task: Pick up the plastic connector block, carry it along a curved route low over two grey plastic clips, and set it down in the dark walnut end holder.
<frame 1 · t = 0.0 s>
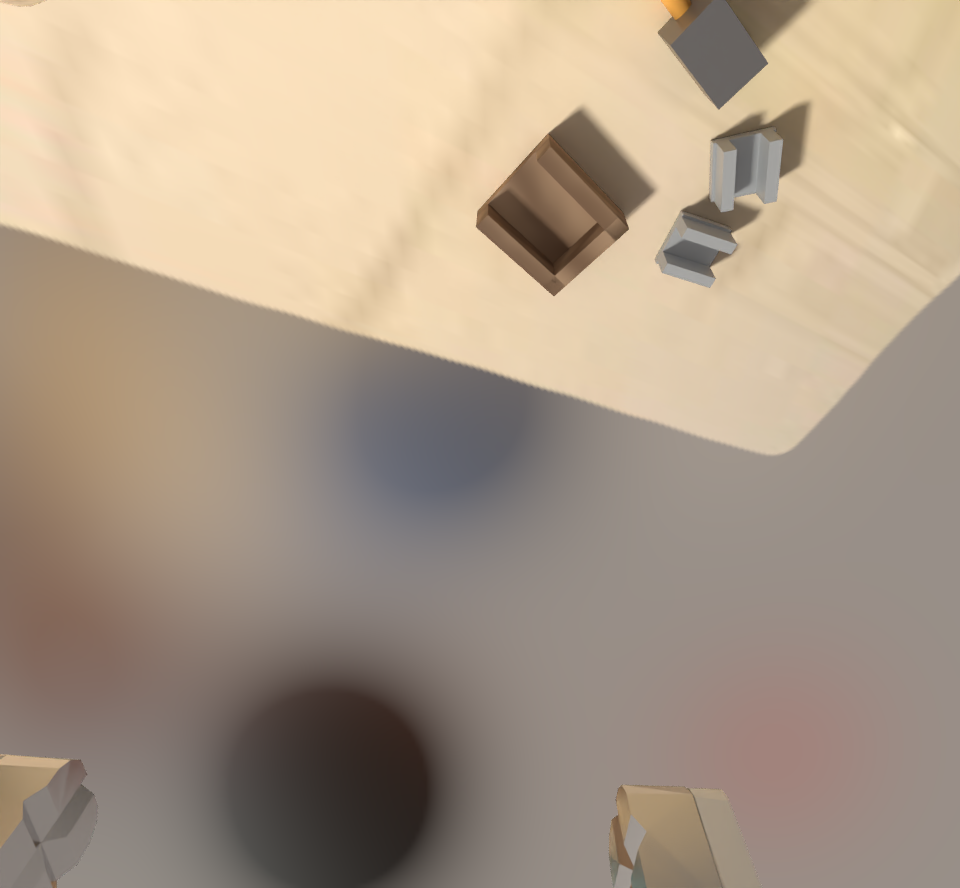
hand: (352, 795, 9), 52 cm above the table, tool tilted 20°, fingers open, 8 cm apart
connector: (702, 40, 46), on the table
holder: (550, 212, 55), on the table
clip1: (739, 164, 51), on the table
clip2: (691, 243, 57), on the table
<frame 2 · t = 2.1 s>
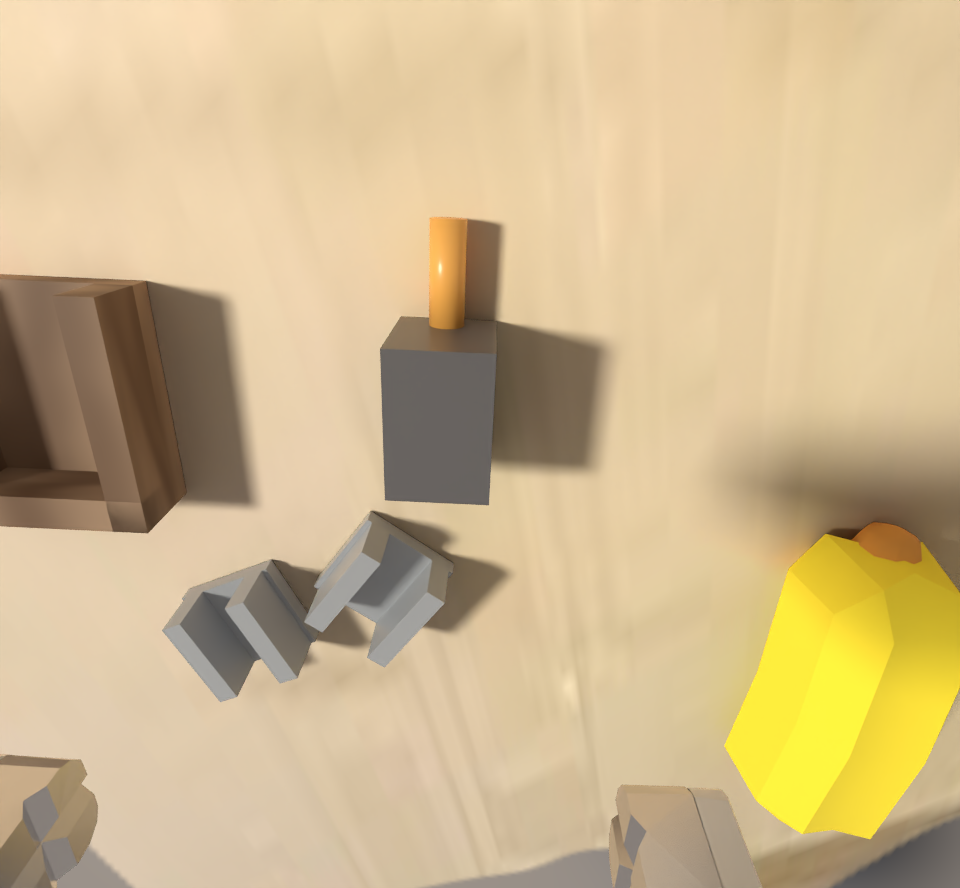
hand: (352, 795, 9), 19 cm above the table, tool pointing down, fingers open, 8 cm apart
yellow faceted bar: (811, 645, 32), on the table
connector: (447, 386, 26), on the table
holder: (67, 390, 27), on the table
clip1: (385, 570, 30), on the table
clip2: (255, 610, 32), on the table
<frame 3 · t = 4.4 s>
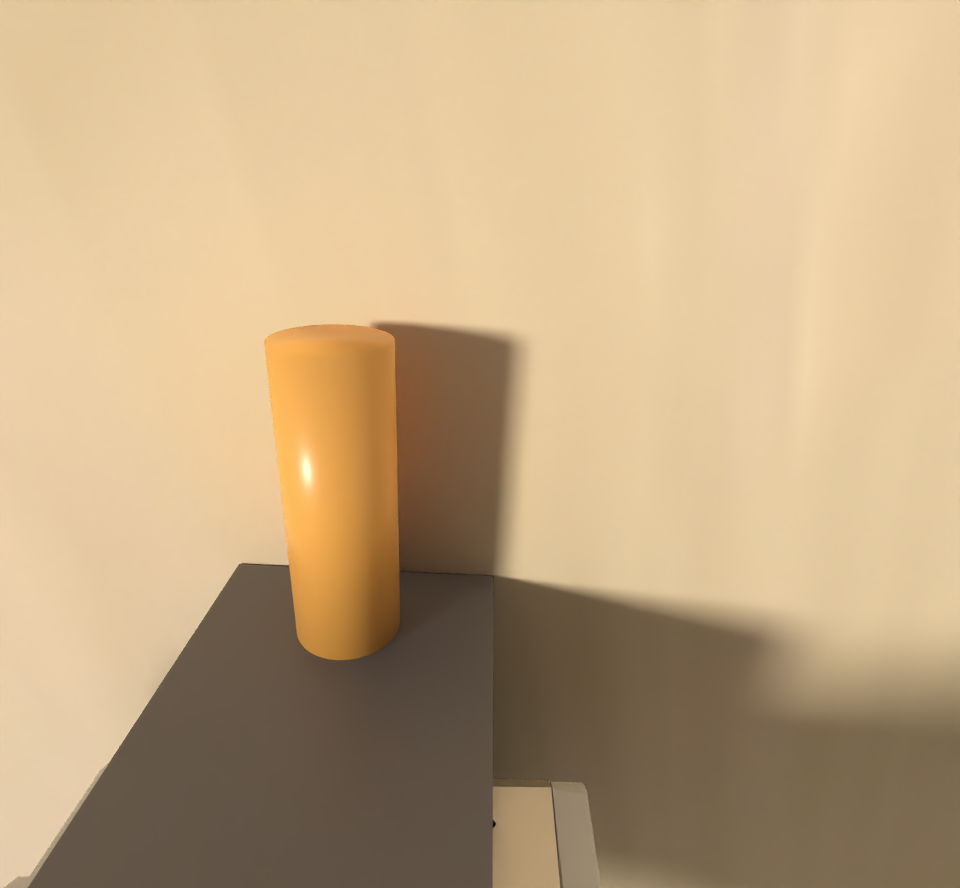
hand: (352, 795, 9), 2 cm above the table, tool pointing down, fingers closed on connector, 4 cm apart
connector: (372, 708, 11), on the table, touching gripper
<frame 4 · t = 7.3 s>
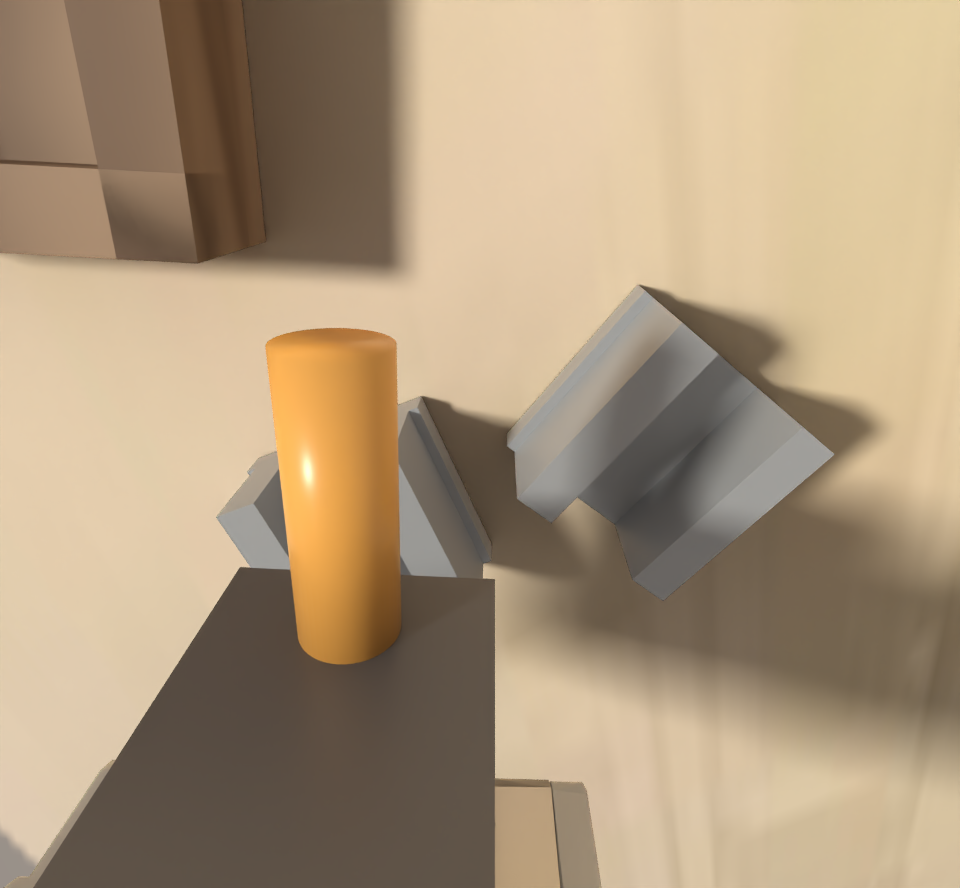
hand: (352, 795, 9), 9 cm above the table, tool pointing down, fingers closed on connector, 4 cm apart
connector: (373, 711, 11), point 7 cm above the table, touching gripper
clip1: (639, 419, 16), on the table
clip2: (378, 502, 17), on the table
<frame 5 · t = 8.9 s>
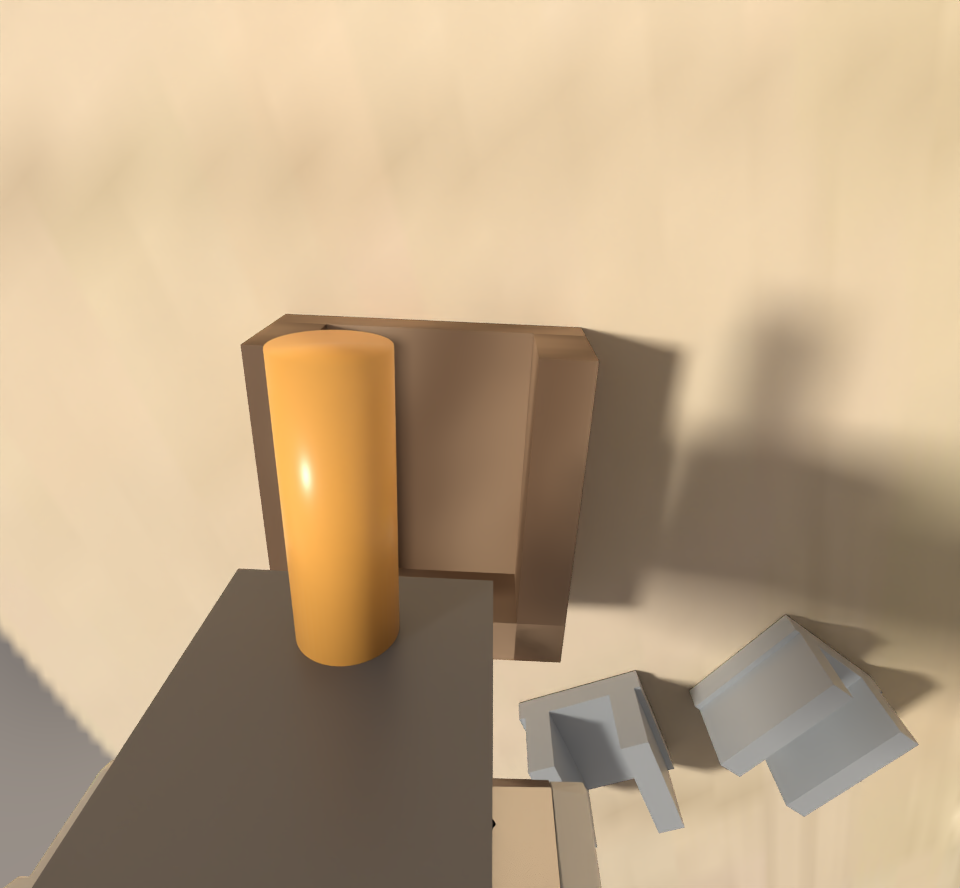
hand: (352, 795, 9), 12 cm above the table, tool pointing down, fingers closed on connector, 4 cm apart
connector: (372, 712, 11), point 10 cm above the table, touching gripper
holder: (431, 467, 20), on the table
clip1: (778, 683, 24), on the table
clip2: (595, 728, 25), on the table
when the fingers open (5 cm above the table, at t = 10.4 s): connector drops 2 cm, resting on holder.
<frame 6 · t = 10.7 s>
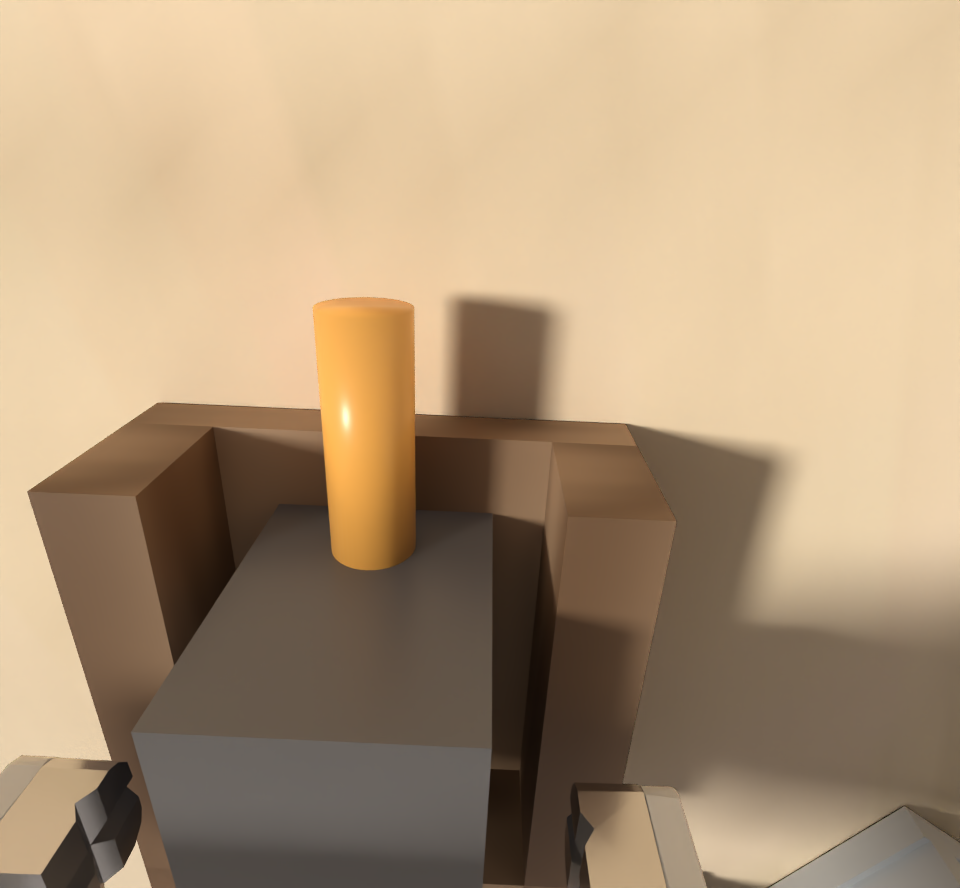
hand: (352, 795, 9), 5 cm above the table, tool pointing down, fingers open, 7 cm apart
connector: (389, 633, 12), point 1 cm above the table, touching holder
holder: (396, 618, 13), on the table
clip1: (885, 886, 17), on the table
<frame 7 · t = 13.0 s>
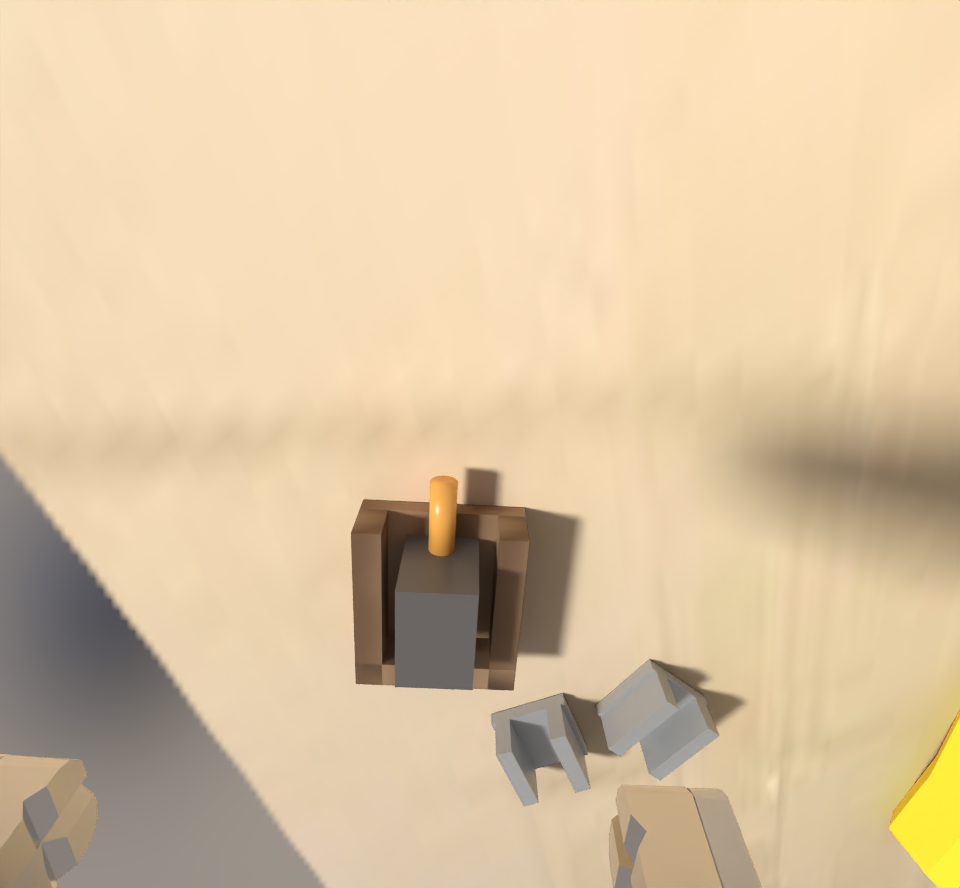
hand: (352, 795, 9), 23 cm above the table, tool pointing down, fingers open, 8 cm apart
connector: (441, 581, 34), point 1 cm above the table, touching holder
holder: (441, 577, 35), on the table
clip1: (649, 700, 39), on the table
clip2: (539, 729, 40), on the table
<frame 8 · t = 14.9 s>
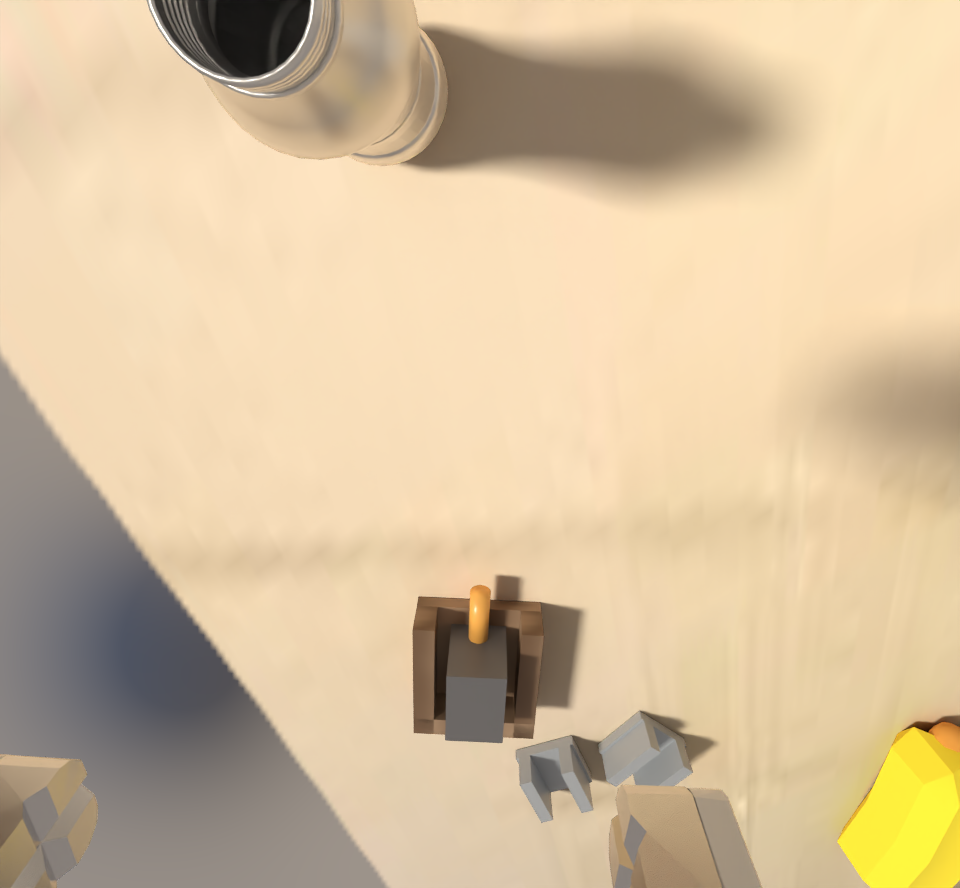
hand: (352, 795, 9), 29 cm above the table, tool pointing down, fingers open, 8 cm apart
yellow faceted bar: (894, 781, 52), on the table
connector: (477, 656, 45), point 1 cm above the table, touching holder
holder: (477, 651, 46), on the table
clip1: (640, 741, 50), on the table
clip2: (553, 761, 51), on the table
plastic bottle: (387, 97, 31), on the table
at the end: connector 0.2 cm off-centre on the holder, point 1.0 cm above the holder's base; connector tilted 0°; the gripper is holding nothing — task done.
